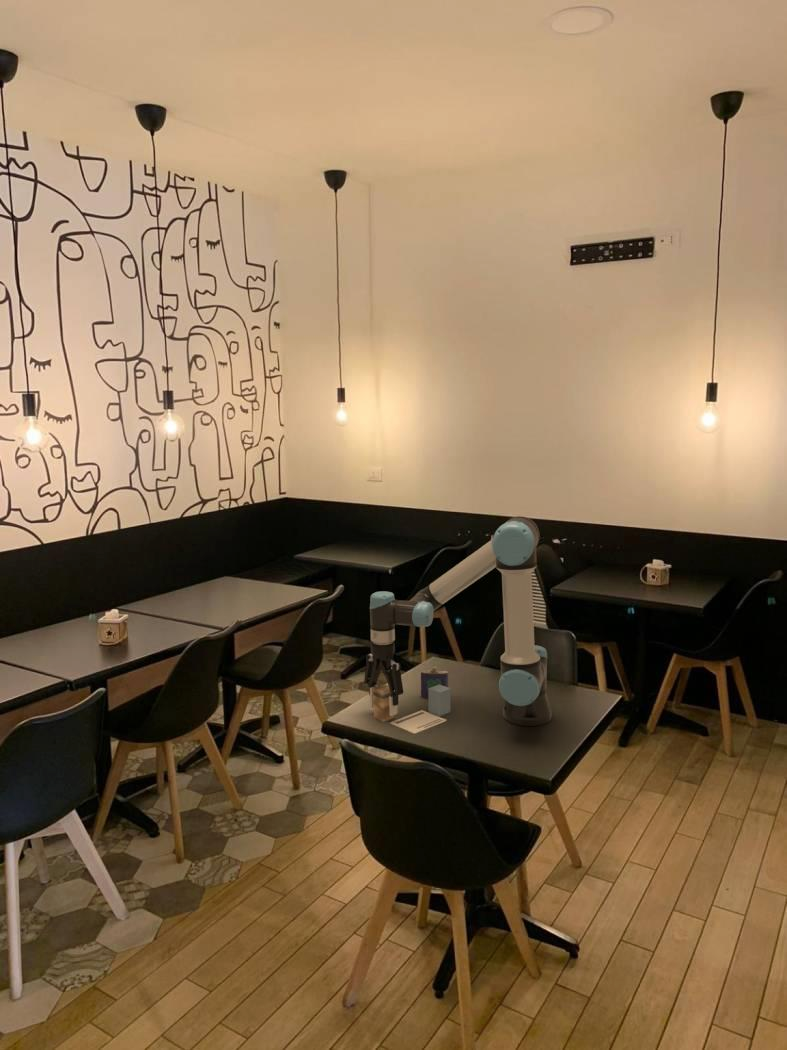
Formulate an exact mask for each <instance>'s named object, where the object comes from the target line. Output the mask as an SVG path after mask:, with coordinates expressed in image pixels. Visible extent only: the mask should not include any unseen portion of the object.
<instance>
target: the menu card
mask: <svg viewBox="0 0 787 1050" xmlns="http://www.w3.org/2000/svg"><path fill="white" fill-rule="evenodd" d="M447 721H448V720H447V719H446V718H443V717H441V716H437V715H435V714H432V713H430V712H429V711H425V710H423V709H421V710H419V711H416V712H413V713H411V714H409V715H406V716H403V717H401V718H398V719H396V720H392V721H391V722H389V723H390V725H392V726H395V727H397V728H399V729H402V730H405V731H406V732H409V733H411V734H413V735H416V734H419V733H421V732H424V731H426V730H428V729H431V728H432V727H433V728H434V727H435V726H437V725H439V724H443V723H445V722H447Z"/></svg>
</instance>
